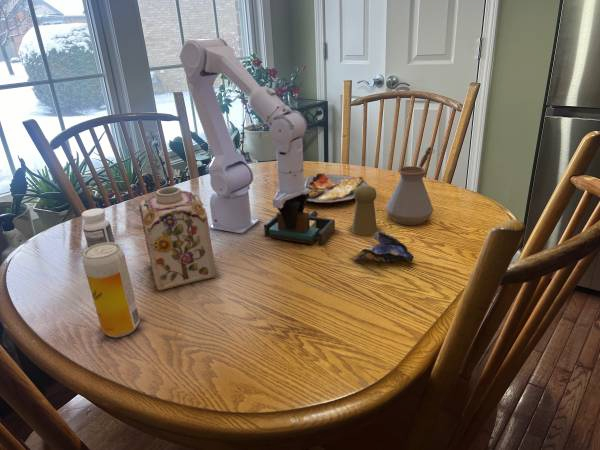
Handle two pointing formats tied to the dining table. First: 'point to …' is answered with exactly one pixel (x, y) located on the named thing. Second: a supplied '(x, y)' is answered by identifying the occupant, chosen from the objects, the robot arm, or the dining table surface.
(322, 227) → the dark grey u-shaped frame
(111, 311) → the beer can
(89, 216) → the pill bottle
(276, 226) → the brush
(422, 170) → the coffee pot
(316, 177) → the food plate
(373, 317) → the dining table surface
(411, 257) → the snack package
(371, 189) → the olive pepper shaker
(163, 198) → the decorative jar
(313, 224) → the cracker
